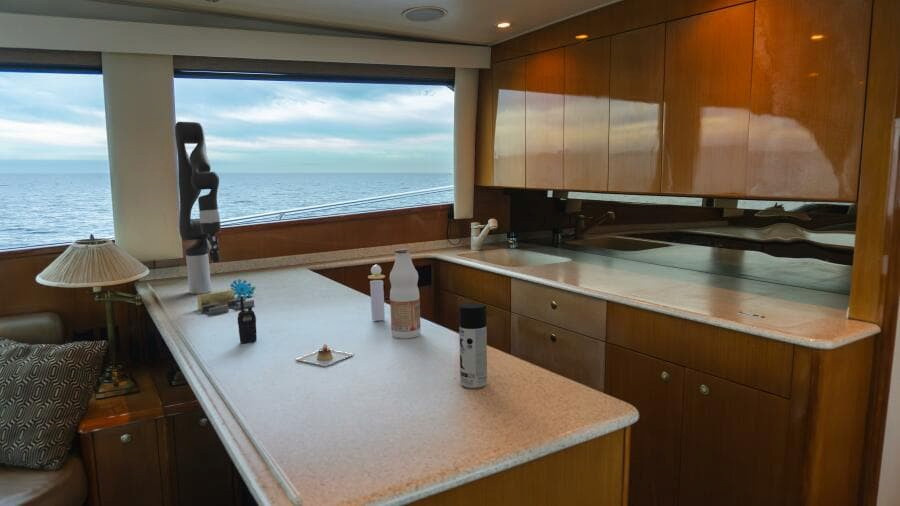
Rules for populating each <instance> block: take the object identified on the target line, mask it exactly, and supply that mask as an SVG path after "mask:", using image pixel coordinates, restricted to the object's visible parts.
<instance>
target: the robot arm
mask: <svg viewBox="0 0 900 506" xmlns="http://www.w3.org/2000/svg"><path fill="white" fill-rule="evenodd" d="M174 125H175V127H174V134H175V143H176V145H175V146H176V151H177V167H178V168H177V171H178V174H177V175H178V176H177V177H178V191H179V194H178V195H179V222H178V225H179V227H178V229H179V234H180V238H181V239H182V240H183V241H193V240H195V243H194V244H192V245H191V246H188V247H187V248H186V249H185V259H186V270H187V282H188V292H189V294H191V295H192V294H193V295H199V294H205V293H210V292H211V291H212V284H211V272H210V261H212V262H214V263H218V262H220V259H219V250H220V248H219V239H218V236H217V235H216V234H218V233H221V232H222V229H221V227H222V226H221V220H220V213H219V208H218V190H219V186H220V177H219V175H218V173H217V172H215V171H211V164H210V162H209V161H210V160H209V158H208V155H207V145H206V143H207V142H206V137H205V136H206V135H205V131H204V128H203V127H204V126H203V125H202V124H201V123H200V122H196V121H195V122H194V121H193V122H192V121H177V122H176V123H175V124H174ZM186 144H187V145H189V144H191V145H196V146H195V147H194V148H193V150H192V151H191V153H190V155H189V154H188V152H187V148H186ZM203 190H204V191H205V190H210V191H209V193H207V194H204V195H201V196H200V194H201V192H202V191H203ZM196 201H198V209H199V216H198V217H199V218H191V217H192V216H191V215H192V209H193V208H194V205H195V204H196ZM209 258H210V259H209ZM209 260H210V261H209Z"/></svg>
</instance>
